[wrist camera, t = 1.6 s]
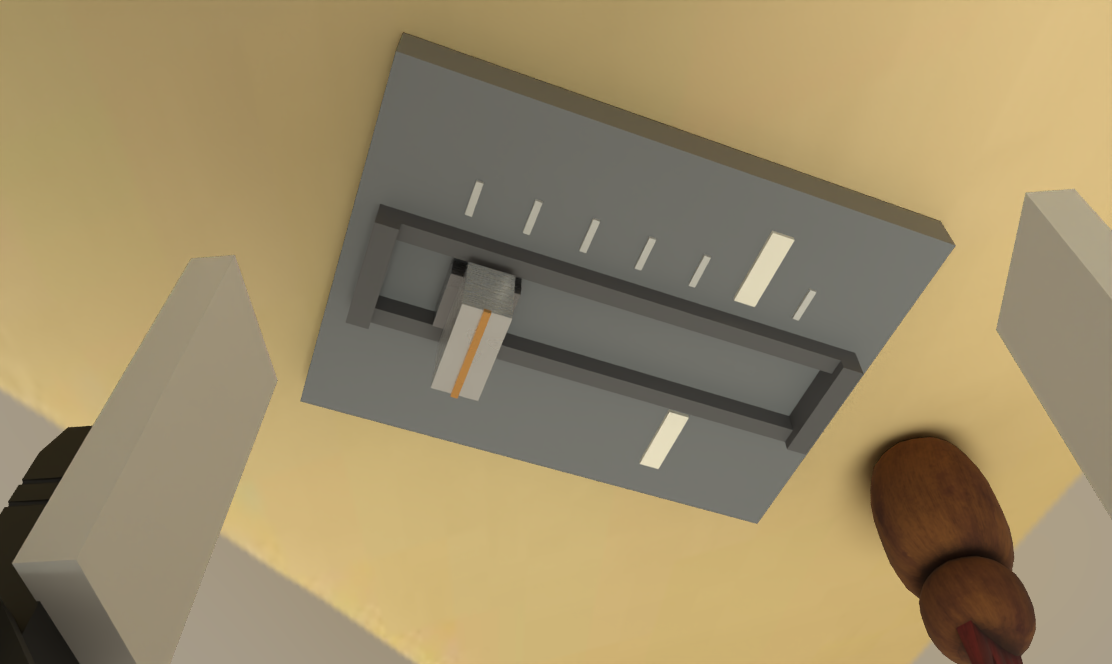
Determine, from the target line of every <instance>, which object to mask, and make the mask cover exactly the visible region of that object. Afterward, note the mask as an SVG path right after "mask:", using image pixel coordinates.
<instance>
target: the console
mask: <svg viewBox="0 0 1112 664" xmlns="http://www.w3.org/2000/svg"><path fill="white" fill-rule="evenodd" d="M955 246H956V245H955V244H954V242H953V240H952V239H951V237H950V236H949V234H948V232H947V231H946V229H945V228H944V226H943V224H942V223H941V221H938V220H935V219H932V218H929V217H926V216H924V215H921V214H918V213H915V212H912V211H909V210H907V209H904V208H901V207H898V206H895V205H892V204H889V203H887V202H884V201H881V200H878V199H875V198H872V197H870V196H867V195H864V194H861V193H858V192H855V191H853V190H850V189H847V188H844V187H841V186H838V185H835V184H833V183H830V182H827V181H824V180H821V179H818V178H816V177H813V176H810V175H807V174H804V173H801V172H799V171H796V170H793V169H790V168H787V167H784V166H781V165H779V164H776V163H773V162H770V161H767V160H764V159H762V158H759V157H756V156H753V155H750V154H747V153H745V152H742V151H739V150H736V149H733V148H730V147H727V146H725V145H722V144H719V143H716V142H713V141H710V140H708V139H705V138H702V137H699V136H696V135H693V134H690V133H688V132H685V131H682V130H679V129H676V128H673V127H671V126H668V125H665V124H662V123H659V122H656V121H654V120H651V119H648V118H645V117H642V116H639V115H636V114H634V113H631V112H628V111H625V110H622V109H619V108H617V107H614V106H611V105H608V104H605V103H602V102H600V101H597V100H594V99H591V98H588V97H585V96H582V95H580V94H577V93H574V92H571V91H568V90H565V89H563V88H560V87H557V86H554V85H551V84H548V83H546V82H543V81H540V80H537V79H534V78H531V77H528V76H526V75H523V74H520V73H517V72H514V71H511V70H509V69H506V68H503V67H500V66H497V65H494V64H491V63H489V62H486V61H483V60H480V59H477V58H474V57H472V56H469V55H466V54H463V53H460V52H457V51H455V50H452V49H449V48H446V47H443V46H440V45H437V44H435V43H432V42H429V41H426V40H423V39H420V38H418V37H415V36H412V35H409V34H406V33H403V34H402V37H401V39H400V42H399V45H398V47H397V50H396V53H395V56H394V60H393V64H392V67H391V71H390V75H389V78H388V82H387V86H386V89H385V93H384V97H383V100H382V104H381V108H380V111H379V115H378V119H377V122H376V126H375V130H374V133H373V137H372V141H371V144H370V148H369V152H368V155H367V159H366V162H365V166H364V170H363V173H362V177H361V181H360V184H359V188H358V192H357V195H356V199H355V203H354V206H353V210H352V214H351V217H350V221H349V225H348V228H347V232H346V236H345V239H344V243H343V247H342V250H341V254H340V258H339V261H338V265H337V269H336V272H335V276H334V280H333V283H332V287H331V291H330V294H329V298H328V302H327V305H326V309H325V313H324V316H323V320H322V324H321V327H320V331H319V334H318V338H317V342H316V345H315V349H314V353H313V356H312V360H311V364H310V367H309V371H308V375H307V378H306V382H305V386H304V389H303V393H302V397H301V400H300V401H301V402H305V403H309V404H312V405H316V406H320V407H324V408H327V409H331V410H335V411H338V412H342V413H346V414H350V415H353V416H357V417H361V418H365V419H368V420H372V421H376V422H379V423H383V424H387V425H391V426H394V427H398V428H402V429H406V430H409V431H413V432H417V433H421V434H424V435H428V436H432V437H435V438H439V439H443V440H447V441H450V442H454V443H458V444H462V445H465V446H469V447H473V448H476V449H480V450H484V451H488V452H491V453H495V454H499V455H503V456H506V457H510V458H514V459H518V460H521V461H525V462H529V463H532V464H536V465H540V466H544V467H547V468H551V469H555V470H559V471H562V472H566V473H570V474H573V475H577V476H581V477H585V478H588V479H592V480H596V481H600V482H603V483H607V484H611V485H615V486H618V487H622V488H626V489H629V490H633V491H637V492H641V493H644V494H648V495H652V496H656V497H659V498H663V499H667V500H670V501H674V502H678V503H682V504H685V505H689V506H693V507H697V508H700V509H704V510H708V511H712V512H715V513H719V514H723V515H726V516H730V517H734V518H738V519H741V520H745V521H749V522H753V523H756V524H757V523H758V522H759V521H760V519H761V518H762V516H763V515H764V514H765V512H766V511H767V509H768V508H769V507H770V505H771V504H772V502H773V501H774V500H775V498H776V497H777V495H778V494H779V493H780V491H781V490H782V488H783V487H784V486H785V484H786V483H787V481H788V480H789V479H790V477H791V476H792V474H793V473H794V472H795V470H796V469H797V467H798V466H799V465H800V463H801V462H802V460H803V459H804V458H805V456H806V455H807V453H808V452H809V451H810V449H811V448H812V446H813V445H814V444H815V442H816V441H817V439H818V438H819V437H820V435H821V434H822V432H823V431H824V430H825V428H826V427H827V425H828V424H829V422H830V421H831V420H832V418H833V417H834V415H835V414H836V413H837V411H838V410H839V408H840V407H841V406H842V404H843V403H844V401H845V400H846V399H847V397H848V396H849V394H850V393H851V392H852V390H853V389H854V387H855V386H856V385H857V383H858V382H859V380H860V379H861V378H862V376H863V375H864V373H865V372H866V371H867V369H868V368H869V366H870V365H871V364H872V362H873V361H874V359H875V358H876V357H877V355H878V354H879V352H880V351H881V350H882V348H883V347H884V345H885V344H886V343H887V341H888V340H889V338H890V337H891V336H892V334H893V333H894V331H895V330H896V328H897V327H898V326H899V324H900V323H901V321H902V320H903V319H904V317H905V316H906V314H907V313H908V312H909V310H910V309H911V307H912V306H913V305H914V303H915V302H916V300H917V299H918V298H919V296H920V295H921V293H922V292H923V291H924V289H925V288H926V286H927V285H928V284H929V282H930V281H931V279H932V278H933V277H934V275H935V274H936V272H937V271H938V270H939V268H940V267H941V265H942V264H943V263H944V261H945V260H946V258H947V257H948V256H949V254H950V253H951V251H952V250H953V249H954V247H955ZM453 257H454V258H457V259H460V260H463V261H467V262H471V263H475V264H478V265H481V266H484V267H488V268H491V269H494V270H497V271H501V272H504V273H507V274H510V275H514V276H515V277H519V278H522V283H521V295H520V298H519V300H518V303H517V305H516V307H515V310H514V312H513V316H512V321H511V323H510V326H509V328H508V330H507V333H506V335H505V338H504V340H503V342H502V345H501V347H500V350H499V352H498V354H497V357H496V359H495V362H494V364H493V366H492V369H491V371H490V374H489V376H488V378H487V381H486V383H485V386H484V388H483V390H482V393H481V395H480V398H479V400H478V401H476V400H473V399H469V398H465V397H462V396H458V399H457V398H453V397H450V395H451V393H447V392H444V391H440V390H437V389H433V388H431V384H432V378H433V372H434V367H435V361H436V355H437V349H438V343H439V341H440V338H441V335H442V332H443V330H444V329H442V328H438V327H435V326H432V325H433V320H434V314H435V309H436V305H437V302H438V299H439V296H440V293H441V290H442V288H443V285H444V282H445V279H446V276H447V274H448V271H449V268H450V265H451V262H452V260H453Z"/></svg>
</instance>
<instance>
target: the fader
mask: <svg viewBox="0 0 1112 664" xmlns="http://www.w3.org/2000/svg"><path fill="white" fill-rule="evenodd" d="M521 283H522V278H519V277H515V276H514V275H510V274H507V273H504V272H501V271H497V270H494V269H491V268H488V267H484V266H481V265H478V264H475V263H471V262H467V261H463V260H460V259H457V258H454V257H453V260H452V262H451V265H450V268H449V271H448V274H447V276H446V279H445V282H444V285H443V288H442V290H441V293H440V296H439V299H438V302H437V305H436V309H435V314H434V320H433V325H432V326H435V327H438V328H442V329H444V330H443V332H442V335H441V338H440V341H439V343H438V349H437V355H436V361H435V367H434V372H433V378H432V384H431V388H433V389H437V390H440V391H444V392H447V393H451V395H450V397H453V398H457V399H458V396H462V397H465V398H469V399H473V400H476V401H478V400H479V398H480V395H481V393H482V390H483V388H484V386H485V383H486V381H487V378H488V376H489V374H490V371H491V369H492V366H493V364H494V362H495V359H496V357H497V354H498V352H499V350H500V347H501V345H502V342H503V340H504V338H505V335H506V333H507V330H508V328H509V326H510V323H511V321H512V316H513V312H514V310H515V307H516V305H517V303H518V300H519V298H520V295H521Z"/></svg>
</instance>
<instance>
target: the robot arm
mask: <svg viewBox="0 0 1112 664" xmlns="http://www.w3.org/2000/svg"><path fill="white" fill-rule="evenodd" d="M996 330H997V332H998V334H999V335H1000V337H1001V338H1002V340H1003V342H1004V343H1005V345H1006V347H1007V348H1008V350H1009V352H1010V353H1011V355H1012V357H1013V358H1014V360H1015V361H1016V363H1017V365H1018V366H1019V368H1020V370H1021V371H1022V373H1023V375H1024V376H1025V378H1026V379H1027V381H1028V383H1029V384H1030V386H1031V388H1032V389H1033V391H1034V393H1035V394H1036V396H1037V398H1038V399H1039V401H1040V402H1041V404H1042V406H1043V407H1044V409H1045V411H1046V412H1047V414H1048V416H1049V417H1050V419H1051V421H1052V422H1053V424H1054V425H1055V427H1056V429H1057V430H1058V432H1059V434H1060V435H1061V437H1062V439H1063V440H1064V442H1065V443H1066V445H1067V447H1068V448H1069V450H1070V452H1071V453H1072V455H1073V457H1074V458H1075V460H1076V462H1077V463H1078V465H1079V466H1080V468H1081V470H1082V471H1083V473H1084V475H1085V476H1086V478H1087V480H1088V481H1089V483H1090V485H1091V486H1092V488H1093V489H1094V491H1095V493H1096V494H1097V496H1098V498H1099V499H1100V501H1101V503H1102V504H1103V506H1104V507H1105V509H1106V511H1107V512H1108V514H1109V516H1110V517H1111V519H1112V230H1111V229H1110V228H1109V227H1108V226H1107V225H1106V223H1105V222H1104V221H1103V220H1102V219H1101V218H1100V217H1099V216H1098V215H1097V213H1096V212H1095V211H1094V210H1093V209H1092V208H1091V207H1090V206H1089V205H1088V203H1087V202H1086V201H1085V200H1084V199H1083V198H1082V197H1081V196H1080V195H1079V193H1078V192H1077V191H1076V190H1075V189H1066V190H1053V191H1040V192H1028V193H1025V198H1024V203H1023V207H1022V212H1021V217H1020V221H1019V226H1018V231H1017V235H1016V240H1015V245H1014V249H1013V254H1012V258H1011V263H1010V268H1009V272H1008V277H1007V282H1006V286H1005V291H1004V296H1003V300H1002V305H1001V310H1000V314H999V319H998V324H997V328H996ZM277 381H278V380H277V377H276V374H275V371H274V368H273V365H272V362H271V360H270V357H269V354H268V351H267V348H266V345H265V342H264V339H263V336H262V333H261V330H260V327H259V324H258V321H257V319H256V316H255V313H254V310H253V307H252V304H251V301H250V298H249V295H248V292H247V289H246V286H245V283H244V280H243V277H242V275H241V272H240V269H239V266H238V263H237V260H236V257H235V255H228V256H216V257H203V258H191V259H190V261H189V263H188V265H187V266H186V268H185V270H184V271H183V273H182V275H181V276H180V278H179V280H178V282H177V283H176V285H175V287H174V288H173V290H172V292H171V294H170V295H169V297H168V299H167V300H166V302H165V304H164V305H163V307H162V309H161V311H160V312H159V314H158V316H157V317H156V319H155V321H154V322H153V324H152V326H151V328H150V329H149V331H148V333H147V334H146V336H145V338H144V339H143V341H142V343H141V345H140V346H139V348H138V350H137V351H136V353H135V355H134V356H133V358H132V360H131V362H130V363H129V365H128V367H127V368H126V370H125V372H124V373H123V375H122V377H121V379H120V380H119V382H118V384H117V385H116V387H115V389H114V390H113V392H112V394H111V396H110V397H109V399H108V401H107V402H106V404H105V406H104V407H103V409H102V411H101V413H100V414H99V416H98V418H97V419H96V421H95V423H94V425H93V426H82V427H68V428H67V429H66V430H65V431H63V432H62V433H61V434H60V435H59V436H58V437H57V438H56V439H54V440H53V441H52V442H51V443H50V444H49V445H47V446H46V447H45V448H44V449H43V450H42V451H41V452H40V453H39V454H38V456H37V457H36V459H35V460H34V462H33V464H32V465H31V466H30V468H29V470H28V471H27V473H26V474H25V476H24V478H23V479H22V481H23V484H22V485H19V486H18V487H17V489H16V490H15V492H14V493H13V495H12V496H11V498H10V500H9V501H8V503H9V506H8V507H5V508H4V509H3V511H2V512H1V514H0V664H170V663H171V660H172V657H173V654H174V652H175V650H176V647H177V644H178V642H179V639H180V636H181V634H182V631H183V628H184V626H185V623H186V620H187V618H188V615H189V613H190V610H191V607H192V605H193V602H194V599H195V597H196V594H197V591H198V589H199V586H200V583H201V581H202V578H203V576H204V573H205V570H206V567H207V565H208V563H209V560H210V557H211V554H212V552H213V549H214V547H215V544H216V541H217V539H218V536H219V534H220V531H221V528H222V526H223V523H224V520H225V518H226V515H227V512H228V510H229V507H230V505H231V502H232V499H233V497H234V494H235V491H236V489H237V486H238V483H239V481H240V478H241V475H242V473H243V470H244V468H245V465H246V462H247V460H248V457H249V454H250V452H251V449H252V446H253V444H254V441H255V439H256V436H257V433H258V431H259V428H260V425H261V423H262V420H263V417H264V415H265V412H266V410H267V407H268V404H269V402H270V399H271V396H272V394H273V391H274V388H275V386H276V383H277Z"/></svg>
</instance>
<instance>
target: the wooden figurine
mask: <svg viewBox="0 0 1112 664" xmlns="http://www.w3.org/2000/svg"><path fill="white" fill-rule="evenodd" d="M871 507H872V512H873V517H874V522H875V525H876V528H877V531H878V534H879V536H880V539H881V542H882V545H883V547H884V550H885V552H886V555H887V557H888V559H889V562H890V564H891V566H892V567H893V569H894V570H895V572H896V574H897V575H898V577H899V578H900V580H901V581H902V582H903V584H904V585H905V586H906V588H907V589H908V590H909V591H911V592H912V593H913V594H914V595H916V596H917V597H918V598H919V599H920V600H919V605H920V613H921V616H922V619H923V622H924V625H925V628H926V630H927V633H928V635H929V637H930V638H931V640H932V641H933V643H934V644H935V646H936V647H937V648H938V649H939V650H940V651H941V652H942V654H944V655H945V656H946V657H948V658H949V659H950V660H952V661H953V662H955V663H957V664H1023V662H1022V659H1021V655H1022V654H1023V653H1024V652H1025V651H1026V650H1027V649H1028V648H1029V646H1030V644H1031V641H1032V639H1033V636H1034V633H1035V630H1036V619H1035V614H1034V608H1033V605H1032V602H1031V600H1030V597H1029V595H1028V593H1027V591H1026V589H1025V587H1024V585H1023V584H1022V582H1021V581H1020V579H1019V578H1018V577H1017V576H1016V574H1015V573H1013V572H1012V567H1013V562H1014V551H1013V542H1012V537H1011V533H1010V529H1009V526H1008V523H1007V521H1006V519H1005V516H1004V514H1003V511H1002V509H1001V507H1000V505H999V503H998V501H997V499H996V497H995V495H994V493H993V491H992V489H991V487H990V485H989V483H988V481H987V480H986V478H985V477H984V475H983V474H982V473H981V471H980V470H979V468H978V467H977V466H976V465H975V464H974V463H973V462H972V461H971V460H970V459H969V458H968V457H967V456H966V455H965V454H964V453H963V452H962V451H961V450H959V449H958V448H957V447H956V446H954V445H953V444H951V443H949V442H948V441H946V440H941V439H937V438H933V437H926V438H917V439H910V440H907V441H903V442H899V443H897V444H896V445H894V446H893V447H892V448H890V449H889V450H887V451H886V452H885V453H884V454H883V455H882V456H881V458H880V459H879V461H878V462H877V463H876V465H875V466H874V470H873V474H872V481H871Z"/></svg>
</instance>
